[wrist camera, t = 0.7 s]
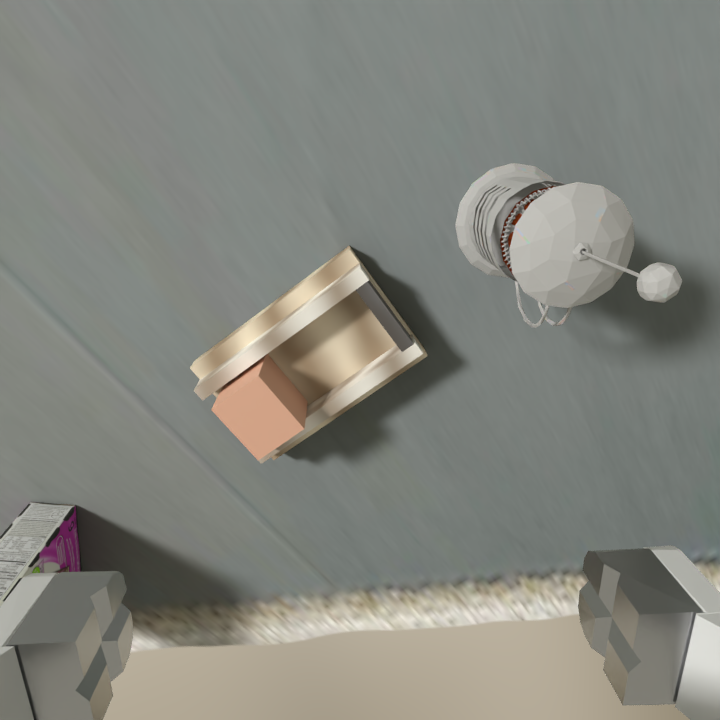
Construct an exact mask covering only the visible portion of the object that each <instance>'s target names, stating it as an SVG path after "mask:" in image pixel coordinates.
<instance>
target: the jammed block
mask: <svg viewBox="0 0 720 720" xmlns="http://www.w3.org/2000/svg"><path fill="white" fill-rule="evenodd" d="M307 404H308V401H307V400H306V399H305V398H304V396H303V395H302V394H301V393H300V392H299V390H298V389H297V388H296V387H295V386H294V385H293V383H292V382H291V381H290V380H289V379H288V377H287V376H286V375H285V374H284V373H283V372H282V370H281V369H280V368H279V367H278V366H277V365H276V363H275V362H274V361H273V360H272V359H271V357H270V356H269V355H268V354H266V355H265V356H264V357H262V358H261V359H259V360H258V361H257V362H255V363H254V364H253V365H251V366H250V367H248V368H247V369H246V370H244V371H243V372H242V373H240V374H239V375H237V376H236V377H235V378H233V379H232V380H230V381H229V382H228V383H226V384H225V385H224V386H223V387H222V389H221V391H220V393H219V395H218V397H217V399H216V401H215V403H214V405H213V407H212V409H211V410H212V411H213V412H214V413H215V414H216V415H217V416H218V418H219V419H220V420H221V421H222V422H223V423H224V424H225V425H226V426H227V427H228V428H229V429H230V431H231V432H232V433H233V434H234V435H235V436H236V437H237V438H238V439H239V440H240V441H241V442H242V443H243V445H244V446H245V447H246V448H247V449H248V450H249V451H250V452H251V453H252V454H253V455H254V456H255V458H256V459H257V460H260V459H261V458H263V457H264V456H266V455H267V454H268V453H270V452H271V451H273V450H274V449H276V448H277V447H279V446H280V445H282V444H283V443H285V442H286V441H288V440H289V439H290V438H292V437H293V436H295V435H296V434H298V433H299V432H301V431H302V430H304V428H305V420H306V412H307Z"/></svg>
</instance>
